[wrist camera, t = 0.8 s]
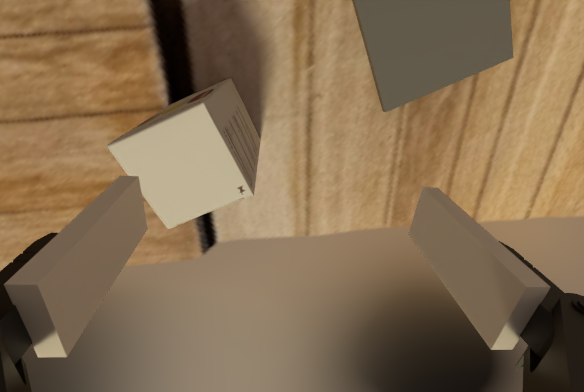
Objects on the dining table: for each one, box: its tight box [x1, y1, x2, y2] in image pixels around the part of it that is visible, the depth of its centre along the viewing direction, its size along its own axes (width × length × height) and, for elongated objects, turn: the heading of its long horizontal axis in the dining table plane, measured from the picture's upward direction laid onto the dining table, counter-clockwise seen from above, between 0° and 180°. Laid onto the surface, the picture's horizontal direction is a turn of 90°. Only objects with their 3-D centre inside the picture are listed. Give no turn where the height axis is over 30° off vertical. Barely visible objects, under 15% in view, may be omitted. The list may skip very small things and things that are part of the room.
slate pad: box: [352, 0, 513, 112], centre depth 36 cm, size 17×17×1 cm
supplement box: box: [107, 78, 260, 229], centre depth 33 cm, size 10×9×17 cm
